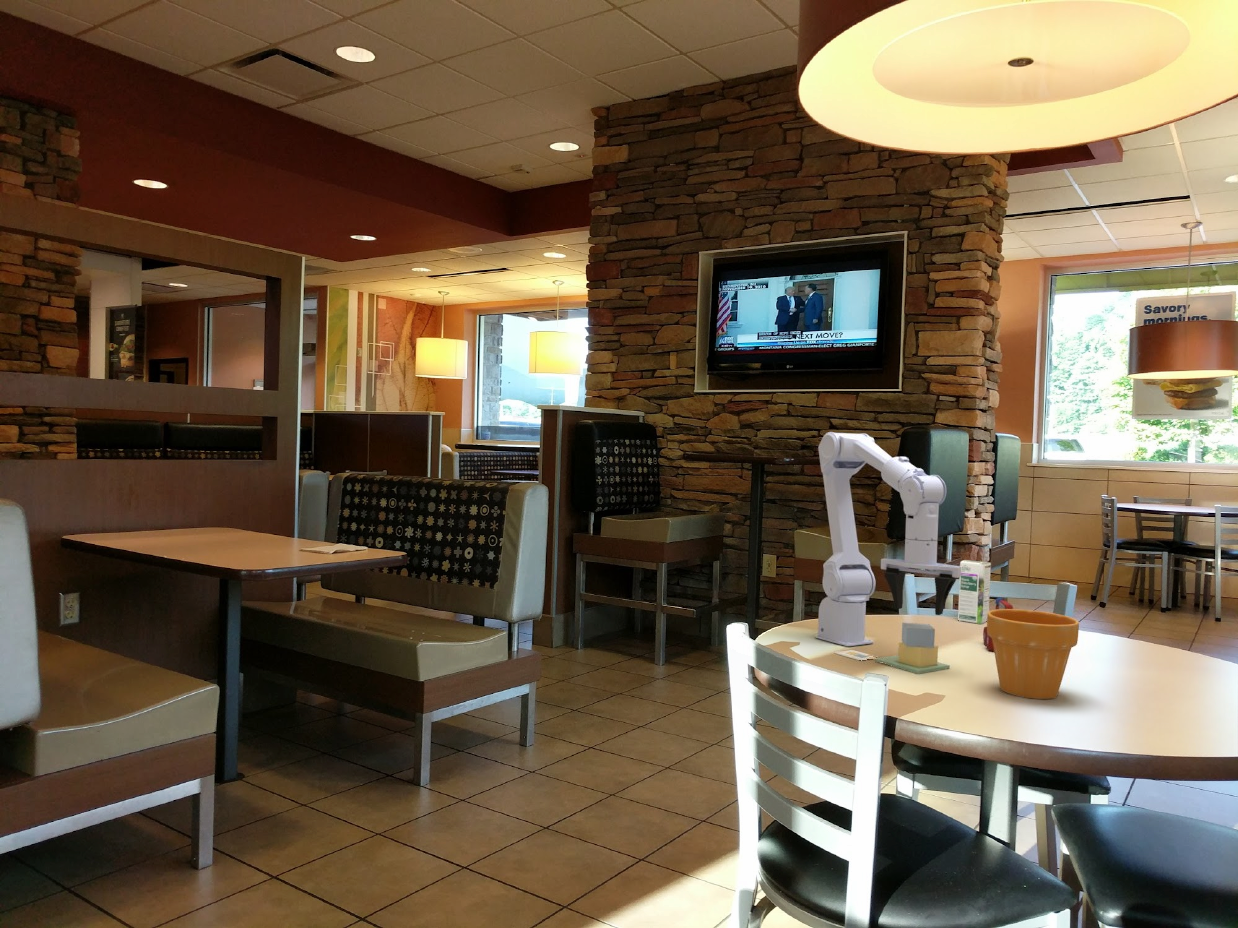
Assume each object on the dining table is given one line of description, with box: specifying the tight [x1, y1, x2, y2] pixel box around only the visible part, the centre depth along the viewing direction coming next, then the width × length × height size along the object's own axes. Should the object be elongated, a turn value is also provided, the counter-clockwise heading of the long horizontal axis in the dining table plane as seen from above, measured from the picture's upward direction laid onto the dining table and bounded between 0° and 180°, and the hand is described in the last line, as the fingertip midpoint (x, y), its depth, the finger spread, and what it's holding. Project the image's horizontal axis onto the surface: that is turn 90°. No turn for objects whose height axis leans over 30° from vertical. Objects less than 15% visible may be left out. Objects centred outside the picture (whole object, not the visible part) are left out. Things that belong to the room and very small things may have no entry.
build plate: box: [874, 655, 951, 675], centre depth 169 cm, size 10×9×1 cm
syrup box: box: [957, 559, 992, 625], centre depth 216 cm, size 6×6×14 cm
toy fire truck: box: [982, 596, 1014, 652], centre depth 186 cm, size 7×12×10 cm, turn 165°
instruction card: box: [834, 649, 874, 662], centre depth 175 cm, size 7×5×1 cm
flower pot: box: [986, 608, 1080, 700], centre depth 152 cm, size 14×14×13 cm
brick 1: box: [901, 622, 936, 648], centre depth 168 cm, size 5×5×4 cm
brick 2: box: [897, 641, 939, 667], centre depth 168 cm, size 5×5×4 cm
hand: (918, 611), depth 168 cm, fingers open, 7 cm apart
